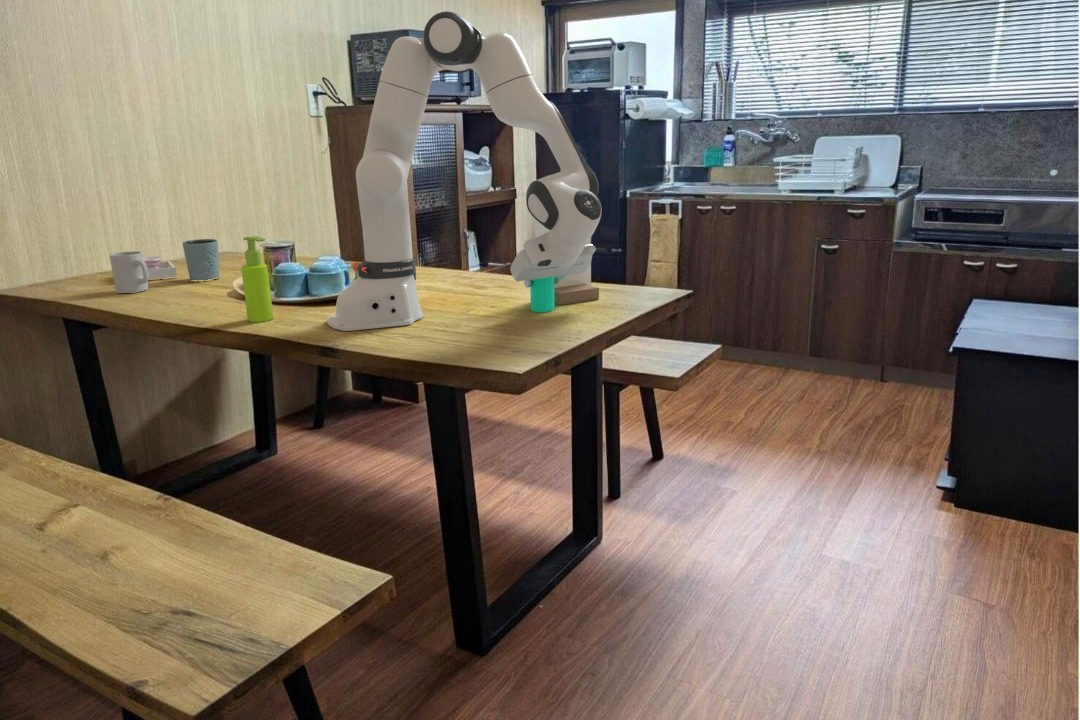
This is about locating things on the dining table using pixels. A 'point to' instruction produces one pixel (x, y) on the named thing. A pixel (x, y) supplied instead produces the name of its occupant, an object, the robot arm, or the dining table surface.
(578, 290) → the tabletop board
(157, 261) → the teacup
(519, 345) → the dining table surface
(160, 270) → the tray
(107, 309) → the dining table surface
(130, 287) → the mug
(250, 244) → the soap dispenser
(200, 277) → the blue embossed cup
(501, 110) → the robot arm
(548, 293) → the candle
